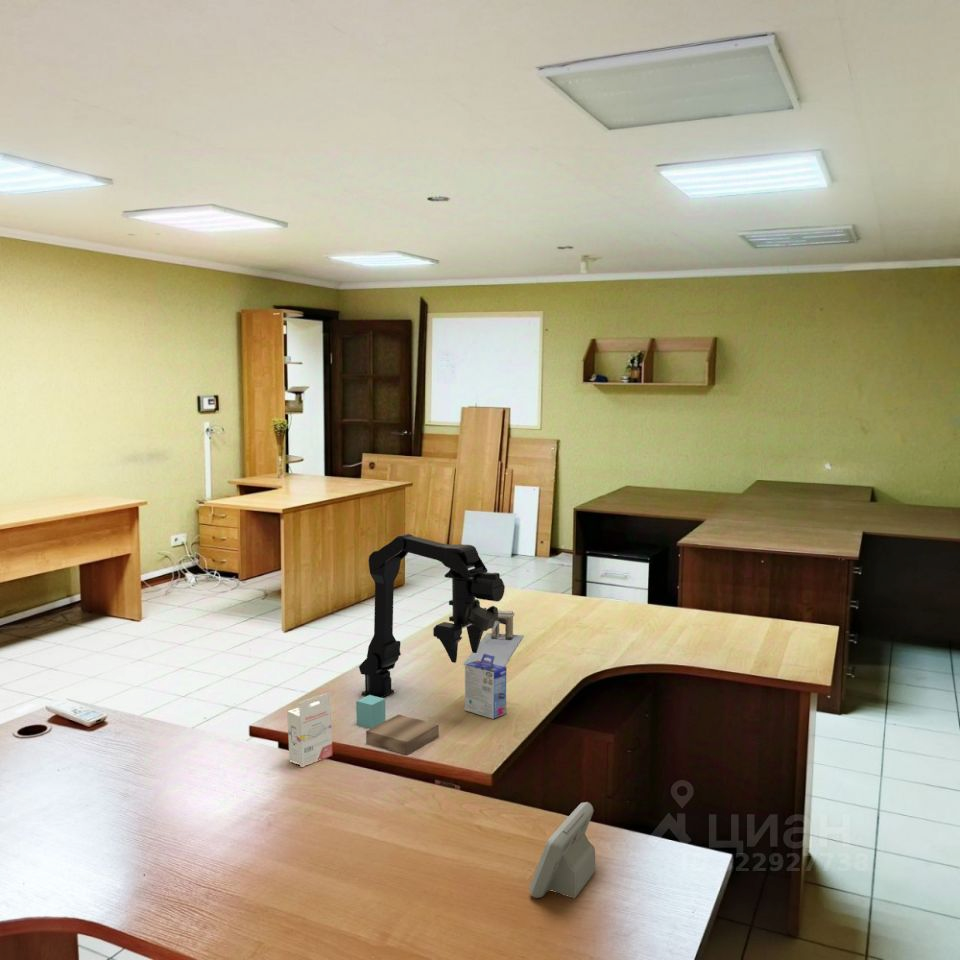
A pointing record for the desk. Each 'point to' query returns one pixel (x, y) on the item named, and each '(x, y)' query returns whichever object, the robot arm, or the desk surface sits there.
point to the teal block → (370, 711)
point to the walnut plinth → (402, 734)
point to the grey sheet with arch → (498, 642)
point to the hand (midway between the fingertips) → (464, 657)
